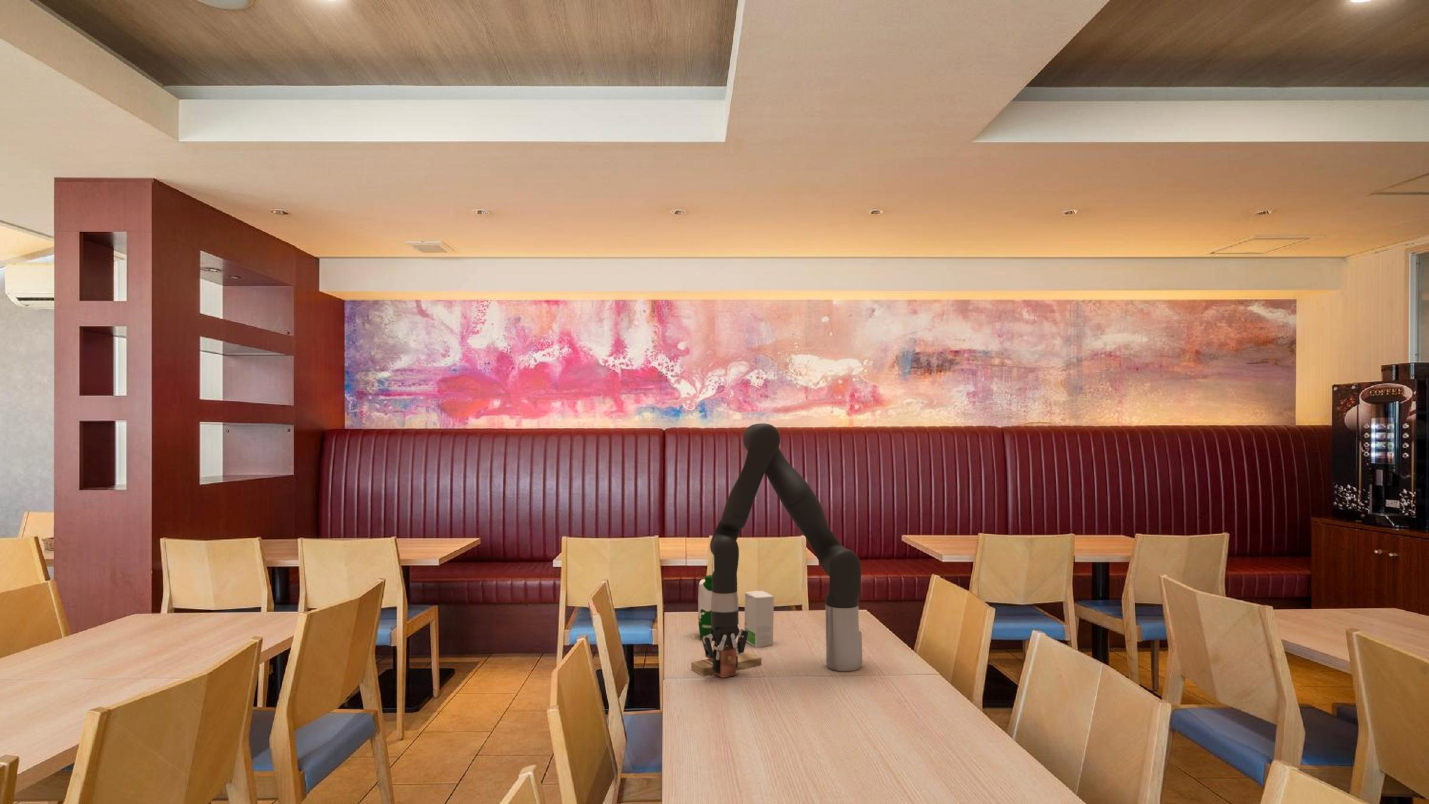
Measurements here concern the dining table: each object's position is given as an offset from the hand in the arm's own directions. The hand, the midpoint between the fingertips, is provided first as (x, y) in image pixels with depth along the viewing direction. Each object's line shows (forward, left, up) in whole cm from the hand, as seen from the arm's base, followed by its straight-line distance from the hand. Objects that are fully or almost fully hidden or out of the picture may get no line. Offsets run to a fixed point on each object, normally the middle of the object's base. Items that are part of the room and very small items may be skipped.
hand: (725, 670), depth 201 cm
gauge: (0, -4, -1) cm, 4 cm away
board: (-4, -6, -1) cm, 7 cm away
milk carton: (-16, -35, -1) cm, 39 cm away
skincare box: (-25, -21, -1) cm, 33 cm away
